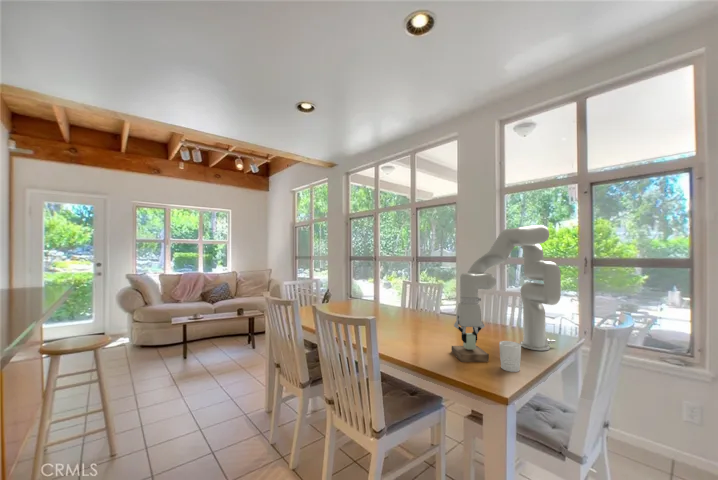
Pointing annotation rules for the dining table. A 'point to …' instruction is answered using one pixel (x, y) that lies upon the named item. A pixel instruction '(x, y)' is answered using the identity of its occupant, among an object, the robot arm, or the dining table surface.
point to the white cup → (510, 355)
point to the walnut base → (470, 354)
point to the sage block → (470, 341)
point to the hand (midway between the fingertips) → (469, 341)
